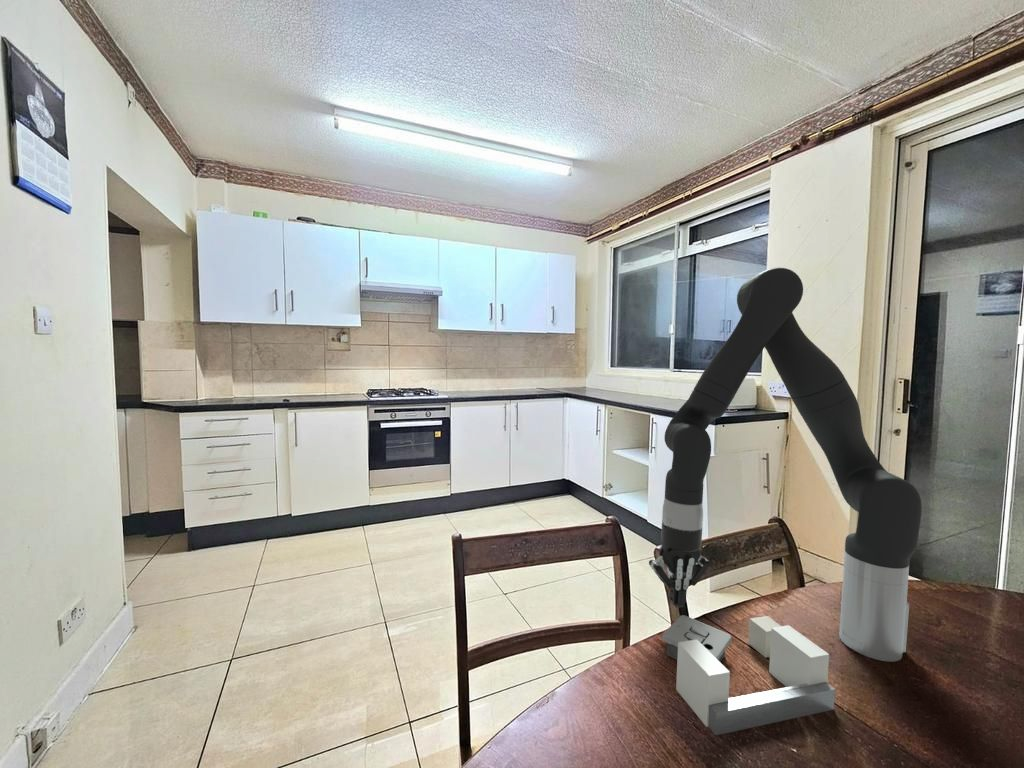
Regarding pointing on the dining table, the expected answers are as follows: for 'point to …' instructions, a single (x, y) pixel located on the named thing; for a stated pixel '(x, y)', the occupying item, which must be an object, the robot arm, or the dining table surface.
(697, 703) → the block
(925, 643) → the dining table surface
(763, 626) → the block
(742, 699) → the grey rectangular bar
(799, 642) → the block
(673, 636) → the electrical switch
